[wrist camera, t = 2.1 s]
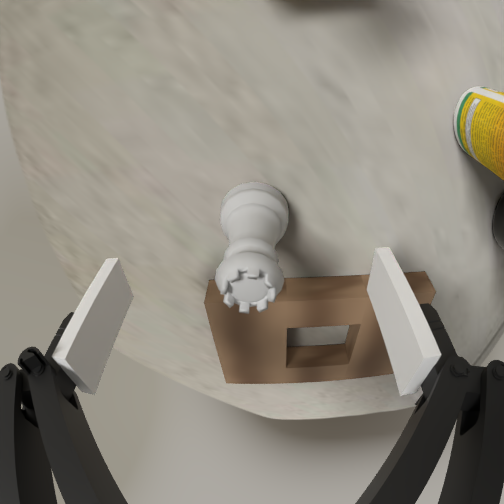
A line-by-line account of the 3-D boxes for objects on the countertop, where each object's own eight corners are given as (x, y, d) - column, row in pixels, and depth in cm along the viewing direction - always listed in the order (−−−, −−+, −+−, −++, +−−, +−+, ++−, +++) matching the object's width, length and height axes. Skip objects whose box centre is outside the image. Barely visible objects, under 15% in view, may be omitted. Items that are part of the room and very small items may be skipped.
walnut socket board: (425, 271, 22) (436, 291, 20) (391, 354, 29) (396, 372, 27) (209, 280, 24) (204, 302, 22) (228, 363, 31) (226, 383, 29)
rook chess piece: (238, 245, 22) (226, 334, 15) (209, 193, 19) (180, 272, 13) (297, 225, 20) (310, 313, 14) (273, 168, 18) (277, 240, 12)
